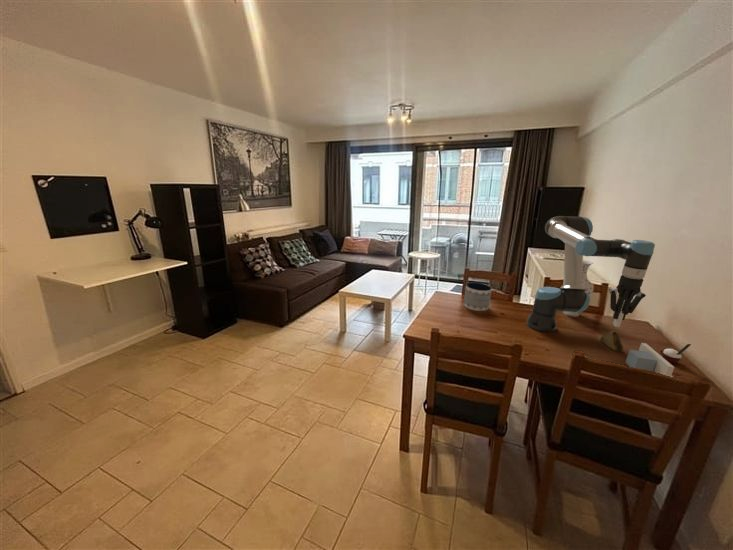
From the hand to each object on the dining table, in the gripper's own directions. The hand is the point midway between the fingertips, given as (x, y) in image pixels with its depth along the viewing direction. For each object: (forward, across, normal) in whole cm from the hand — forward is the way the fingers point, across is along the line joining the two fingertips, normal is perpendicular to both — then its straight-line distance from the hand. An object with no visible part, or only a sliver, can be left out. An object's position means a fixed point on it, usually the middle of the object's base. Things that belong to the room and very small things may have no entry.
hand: (616, 325), depth 136 cm
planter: (+21, -55, +49) cm, 76 cm away
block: (+19, +13, -1) cm, 23 cm away
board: (+19, +20, -1) cm, 28 cm away
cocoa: (+19, +31, +10) cm, 38 cm away
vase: (+20, +4, +57) cm, 61 cm away
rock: (+20, +10, +18) cm, 29 cm away
